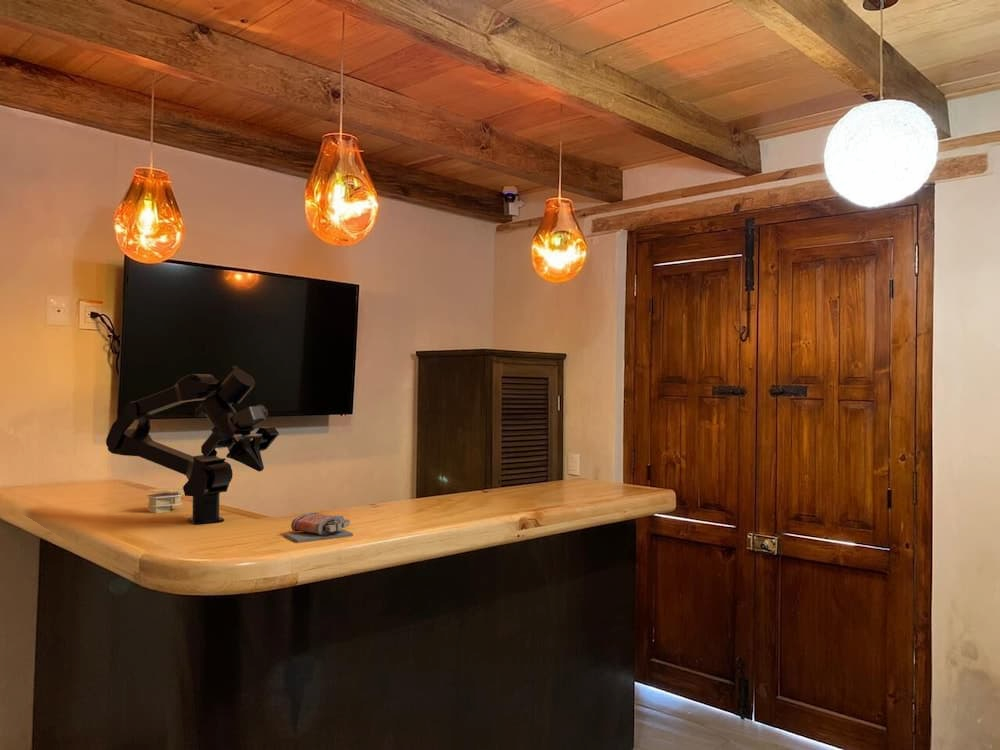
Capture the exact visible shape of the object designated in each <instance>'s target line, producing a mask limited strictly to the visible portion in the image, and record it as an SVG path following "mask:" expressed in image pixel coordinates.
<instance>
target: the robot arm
mask: <svg viewBox="0 0 1000 750" xmlns="http://www.w3.org/2000/svg"><path fill="white" fill-rule="evenodd" d="M255 386H256V380H255V379H254V377H253V376H252V375H250V374H249V373H247V372H246V371H244V370H243V369H240V368H239V367H238V366H237V365H230V366H229V367H228V368H227V370H226V372H225V373H224V374H223V376H221V377H220V379H219V380H218V379H217V378H216V377H215V376H214V375H212V374H202V373H200V374H199V373H196V374H194V373H192V374H188V375H186V376H184V377H183V378H180V380H178V381H177V382H176V383H175V385H172V387H170V388H166V389H164V390H161V391H159V392H156V393H154V394H150V395H148V396H144V397H142V398H140V399H137V400H132V401H130V402H128V403H127V404H126V405H125V407H124V410H123V412H122V413H121V414H120V415H119V416H118V417H117V419H116V420H115V421H114V422H113V423H112V425H111V427H110V429H109V432H108V434H107V436H106V440H105V445H106V447H107V450H108V452H109V453H111V454H114V455H119V456H126V457H127V456H128V457H138V458H142V459H144V460H146V461H150V462H152V463H154V464H157V465H159V466H162V467H165V468H167V469H169V470H172V471H174V472H177V473H180V474H182V475H184V476H186V479H187V481H186V483H185V484H184V485H183V486H182V490H183V493H184V496H186V497H192V514H191V515H192V516H191V517H189V516H188V517H187V520H188V522H191V523H192V524H193V525H194V524H195V525H199V524H201V525H202V524H210V523H218V522H219V523H220V522H224V521H225V518H223V517H221V516H220V496H221V495H220V493H226V492H228V489H229V485H230V484H231V481H232V479H233V469H232V465H231V464H230V462H228V461H226V458H227V459H232V460H234V461H237V462H238V463H241V464H242V465H245V466H247V467H249V468H251V469H253V470H255V471H256V472H262V471H263V470H264V469H265V466H264V462H263V459H262V455H261V452H262V451H265V450H268V448H269V447H270V446H271V444H273V442H274V441H275V440H276V439H277V437H278V436H279V434H280V433H279V431H278V430H277V429H276V427H274V426H265V427H259V428H258V429H257V430H256V432H255V433H251V432H253V431H254V430H255V429H256V426H255V425H257V424H259V423H260V422H264V421H266V419H267V418H268V416H269V412H268V409H267V408H266V406H264V405H263V404H256V405H253V406H248V407H244V408H243V409H240V411H236V409H235V408H234V407H233V406H232V404H235V405H236V404H240V403H241V402H242V401H243V399H245V397H246V396H247V394H249V392H251V391H252V389H253V388H254V387H255ZM195 401H202V402H201V403H200V404H199V403H198V404H196V409H195V411H194V416H195V417H207V419H208V421H209V422H210V423H211V424H212V426H213V428H212V429H211V434H210V435H209V436H208V437H207V438H206V440H204V442H203V443H202V445H201V446H200V448H201V449H200V452H201V454H200V455H199V454H198V455H194V456H193V455H190V454H188V453H186V452H183V451H181V450H178V449H176V448H173V447H170V446H167V445H165V444H163V443H160V442H157V441H155V440H153V439H152V437H151V435H150V434H149V433H150V431H151V422H150V419H151V416H152V415H153V414H156V413H159V412H162V411H164V410H168V409H171V408H173V407H176V406H180V405H181V404H184V403H188V402H195ZM136 419H137V420H138V421H137V422H138V423H137V426H136V427H130V426H132V424H133V423H135V421H136ZM216 449H227V451H228V453H227V454H226V458H222V457H218V456H217V454H218V452H217V450H216Z"/></svg>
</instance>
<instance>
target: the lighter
mask: <svg viewBox="0 0 1000 750" xmlns="http://www.w3.org/2000/svg"><path fill="white" fill-rule="evenodd" d="M350 525H351V521H350V519H345V517H344V516H343V515H337V514H336V515H331V514H322V513H321V514H320V513H319V512H314V511H313V512H306V513H303V514H300V515H298V516H297V517H295V518H294V519H292V521H291V524H290V528H291V530H292V531H293V532H295V533H298V532H311V533H317V534H318V535H327V534H331V533H334V532H336V531H340V530H341V529H344V528H347V527H349V526H350Z"/></svg>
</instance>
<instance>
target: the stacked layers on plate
mask: <svg viewBox="0 0 1000 750" xmlns="http://www.w3.org/2000/svg"><path fill="white" fill-rule="evenodd" d="M179 490H180V491H181V490H183V487H182V488H181V487H160V488H153V489H147V491H149V492H154V494H149V495H146V497H147V498H148V503H146V506H148V512H149V513H153V514H160V513H166V512H171V510H172V509H173V506H179V505H182V504H183V502H182V501H181V499H182V498H181V497H182V496H183V493H179V492H178V491H179ZM170 491H171V492H170ZM172 491H173V492H172ZM155 492H158V493H155ZM159 492H161V493H159Z"/></svg>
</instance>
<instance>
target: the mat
mask: <svg viewBox="0 0 1000 750" xmlns="http://www.w3.org/2000/svg"><path fill="white" fill-rule="evenodd" d="M285 536H286V537H285ZM351 536H352V537H353V536H354V533H353V532H351V531H349V530H346V529H344V528H341V530H340V531H336V532H334V533H331V534H327V535H318V534H317V533H311V532H303V531H300V532H292V533H291V532H290V533H285V534H284V537H285V538H287V537H288V538H287V539H289V538H290V539H289V540H291V539H292V540H291V541H293V542H295V543H306V542H314V541H321V540H328V539H337V538H339V539H340V538H346V537H351Z"/></svg>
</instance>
